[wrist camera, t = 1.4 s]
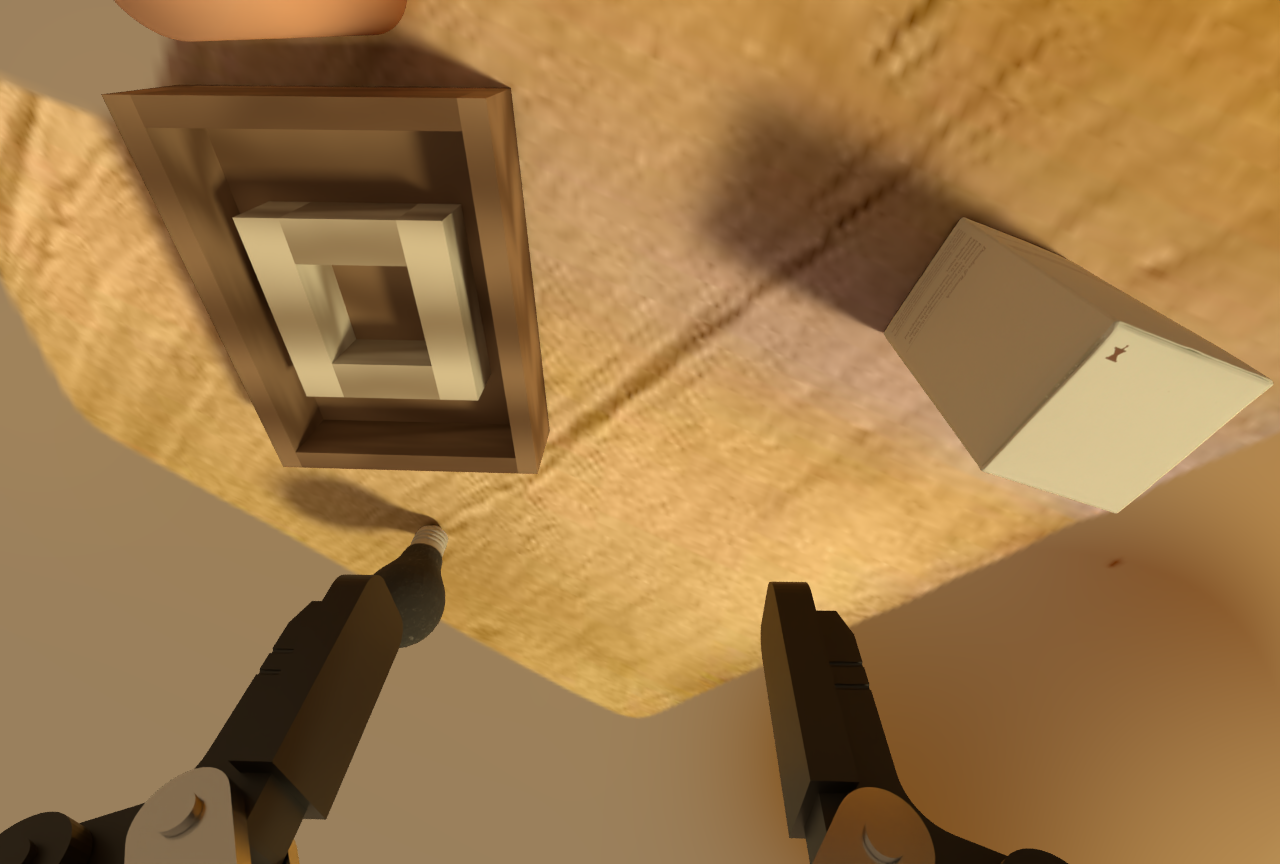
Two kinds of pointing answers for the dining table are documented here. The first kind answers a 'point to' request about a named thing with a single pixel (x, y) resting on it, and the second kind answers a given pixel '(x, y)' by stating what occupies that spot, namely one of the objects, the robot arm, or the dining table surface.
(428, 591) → the light bulb
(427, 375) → the box
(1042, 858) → the robot arm
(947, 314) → the supplement box
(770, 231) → the dining table surface
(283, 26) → the peg
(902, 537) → the dining table surface
